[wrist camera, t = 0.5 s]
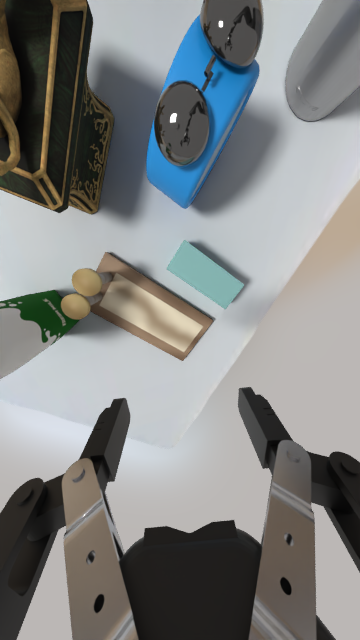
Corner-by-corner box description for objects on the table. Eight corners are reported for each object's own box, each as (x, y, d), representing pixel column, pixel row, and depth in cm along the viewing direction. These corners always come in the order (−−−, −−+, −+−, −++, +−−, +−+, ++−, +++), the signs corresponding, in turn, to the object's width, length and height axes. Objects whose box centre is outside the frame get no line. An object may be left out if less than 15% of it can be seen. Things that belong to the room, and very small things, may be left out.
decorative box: (48, 60, 21) (-758, -1239, 3) (123, 100, 23) (-78, -565, 4) (35, 226, 27) (-246, 160, 9) (95, 248, 29) (-40, 232, 11)
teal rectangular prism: (182, 242, 30) (184, 239, 25) (233, 281, 32) (244, 284, 28) (167, 267, 31) (166, 268, 26) (217, 302, 34) (225, 309, 29)
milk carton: (86, 321, 33) (-22, 402, 15) (50, 341, 35) (-92, 440, 16) (55, 282, 31) (-129, 321, 12) (17, 305, 32) (-205, 374, 13)
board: (107, 252, 29) (82, 250, 21) (211, 318, 34) (224, 338, 26) (82, 303, 32) (51, 320, 24) (182, 357, 37) (185, 387, 29)
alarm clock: (182, 219, 28) (194, 181, 14) (150, 195, 27) (127, 125, 13) (231, 134, 25) (311, -30, 11) (197, 101, 23) (237, -140, 9)
